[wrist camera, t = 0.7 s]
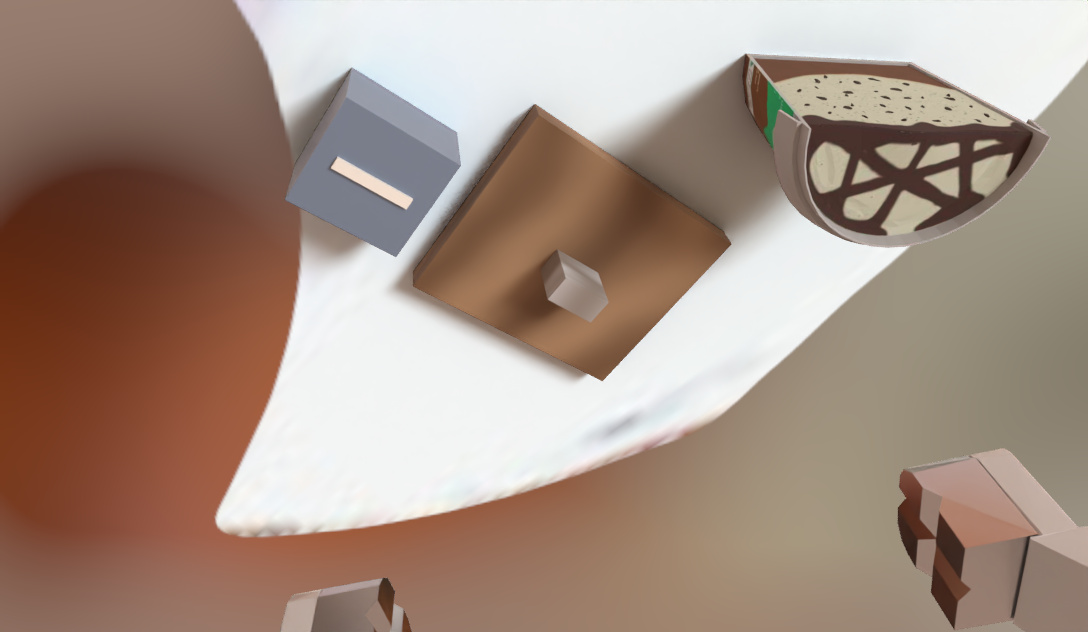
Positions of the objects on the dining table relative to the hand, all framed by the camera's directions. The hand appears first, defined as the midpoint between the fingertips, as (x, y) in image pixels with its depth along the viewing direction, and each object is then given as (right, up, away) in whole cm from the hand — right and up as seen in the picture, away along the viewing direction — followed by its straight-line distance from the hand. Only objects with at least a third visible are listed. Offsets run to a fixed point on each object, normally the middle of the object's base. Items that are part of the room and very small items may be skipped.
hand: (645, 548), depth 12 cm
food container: (+13, +15, +30) cm, 36 cm away
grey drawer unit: (-10, +12, +28) cm, 32 cm away
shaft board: (0, +7, +33) cm, 34 cm away
